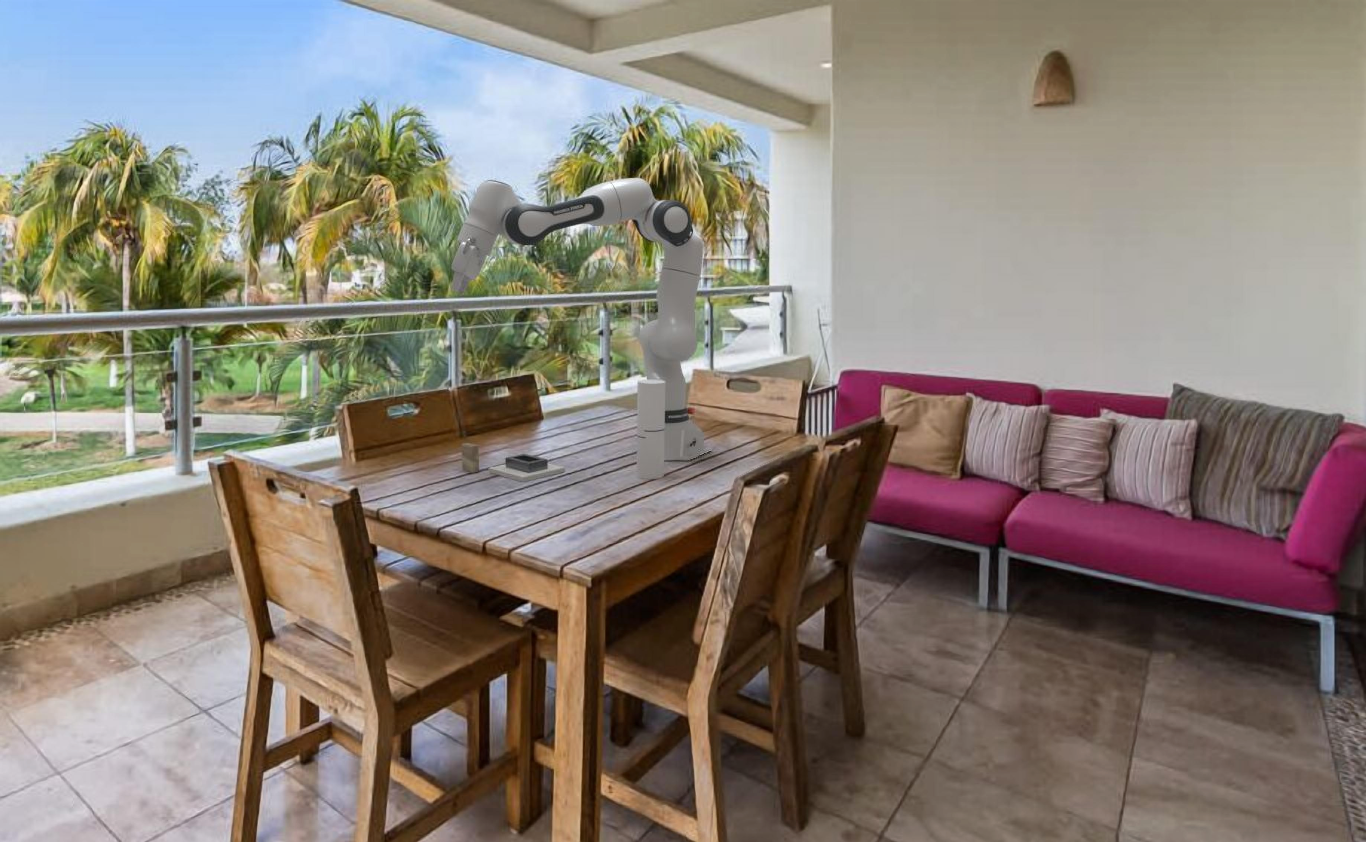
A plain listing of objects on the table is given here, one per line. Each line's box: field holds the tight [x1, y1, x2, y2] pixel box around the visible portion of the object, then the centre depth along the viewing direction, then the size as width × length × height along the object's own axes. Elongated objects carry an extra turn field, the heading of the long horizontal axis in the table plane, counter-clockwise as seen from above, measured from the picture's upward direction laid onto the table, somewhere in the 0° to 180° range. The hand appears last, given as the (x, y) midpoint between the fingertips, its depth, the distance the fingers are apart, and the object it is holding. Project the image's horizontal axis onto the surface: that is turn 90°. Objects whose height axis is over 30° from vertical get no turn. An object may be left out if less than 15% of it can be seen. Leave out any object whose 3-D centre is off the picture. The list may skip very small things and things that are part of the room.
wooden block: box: [461, 442, 480, 473], centre depth 215 cm, size 2×4×7 cm, turn 50°
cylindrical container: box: [636, 379, 665, 480], centre depth 212 cm, size 7×7×25 cm
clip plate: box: [488, 463, 565, 483], centre depth 215 cm, size 14×14×1 cm
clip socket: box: [504, 453, 549, 473], centre depth 215 cm, size 6×9×2 cm
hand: (456, 292), depth 207 cm, fingers open, 8 cm apart
